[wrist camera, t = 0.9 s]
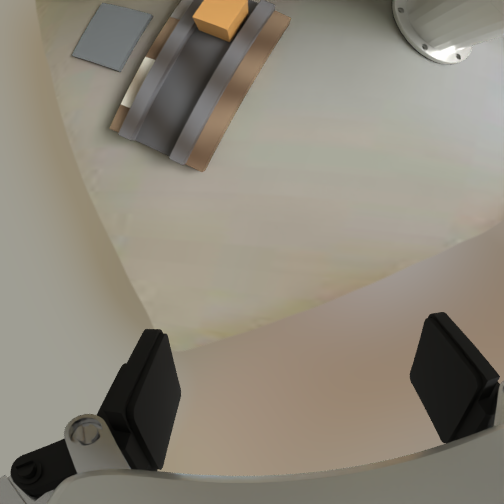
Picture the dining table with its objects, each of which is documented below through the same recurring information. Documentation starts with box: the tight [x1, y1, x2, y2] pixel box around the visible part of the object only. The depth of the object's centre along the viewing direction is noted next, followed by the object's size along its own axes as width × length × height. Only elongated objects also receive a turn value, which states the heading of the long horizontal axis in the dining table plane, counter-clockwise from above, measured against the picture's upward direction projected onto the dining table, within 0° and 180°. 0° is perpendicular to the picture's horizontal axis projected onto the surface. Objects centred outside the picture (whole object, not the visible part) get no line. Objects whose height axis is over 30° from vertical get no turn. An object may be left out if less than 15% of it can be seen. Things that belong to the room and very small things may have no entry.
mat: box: [72, 3, 153, 72], centre depth 28 cm, size 8×8×1 cm
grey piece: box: [109, 0, 291, 172], centre depth 28 cm, size 20×12×4 cm, turn 152°
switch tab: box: [193, 0, 248, 42], centre depth 24 cm, size 4×4×4 cm
